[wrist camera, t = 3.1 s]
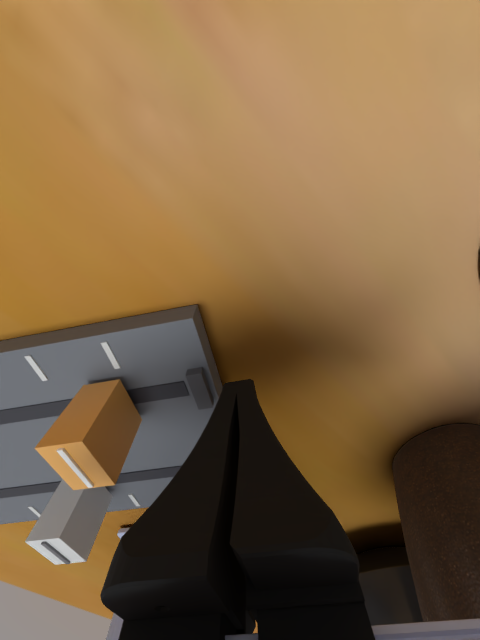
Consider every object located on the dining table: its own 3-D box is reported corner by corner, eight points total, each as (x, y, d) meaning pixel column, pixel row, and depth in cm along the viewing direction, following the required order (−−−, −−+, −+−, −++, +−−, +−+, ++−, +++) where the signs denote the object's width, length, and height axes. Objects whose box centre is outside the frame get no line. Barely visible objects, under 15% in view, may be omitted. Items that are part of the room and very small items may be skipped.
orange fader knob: (142, 419, 14) (114, 487, 11) (108, 424, 14) (71, 492, 11) (119, 379, 13) (80, 443, 10) (83, 385, 13) (32, 450, 10)
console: (249, 474, 20) (250, 503, 18) (-33, 509, 22) (-56, 537, 20) (197, 304, 13) (190, 323, 11) (-209, 379, 15) (-269, 406, 13)
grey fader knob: (112, 496, 18) (85, 563, 15) (86, 499, 18) (53, 566, 15) (92, 471, 16) (57, 540, 13) (64, 475, 17) (23, 544, 13)
